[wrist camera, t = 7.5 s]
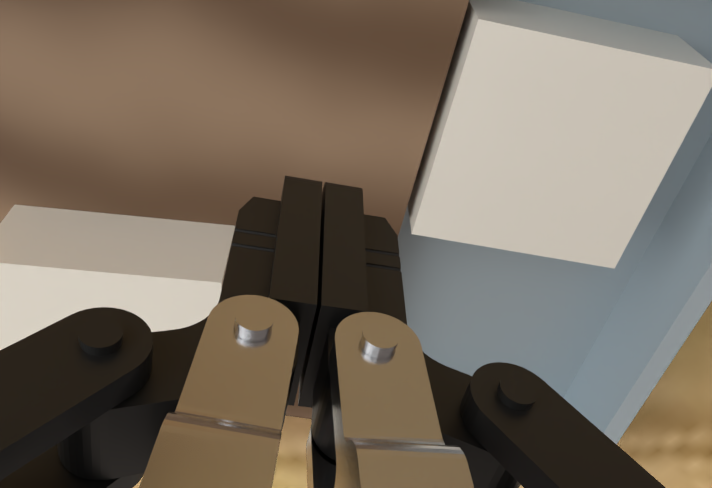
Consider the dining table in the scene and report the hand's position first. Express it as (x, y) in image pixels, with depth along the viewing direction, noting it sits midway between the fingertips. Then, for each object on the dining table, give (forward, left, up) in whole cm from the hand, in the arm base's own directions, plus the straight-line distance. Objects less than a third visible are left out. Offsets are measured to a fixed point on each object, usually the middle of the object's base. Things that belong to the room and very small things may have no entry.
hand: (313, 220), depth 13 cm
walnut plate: (+4, -3, -10) cm, 11 cm away
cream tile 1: (+1, +7, -10) cm, 12 cm away
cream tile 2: (+9, -5, -8) cm, 13 cm away
